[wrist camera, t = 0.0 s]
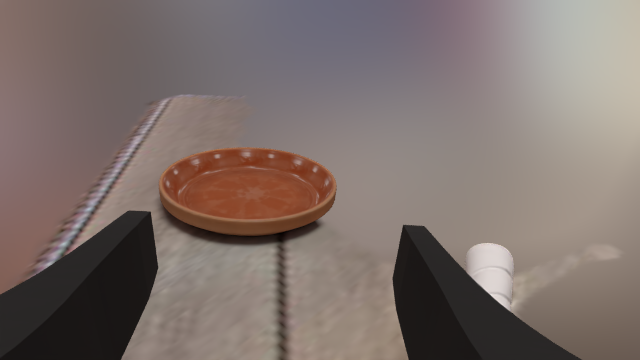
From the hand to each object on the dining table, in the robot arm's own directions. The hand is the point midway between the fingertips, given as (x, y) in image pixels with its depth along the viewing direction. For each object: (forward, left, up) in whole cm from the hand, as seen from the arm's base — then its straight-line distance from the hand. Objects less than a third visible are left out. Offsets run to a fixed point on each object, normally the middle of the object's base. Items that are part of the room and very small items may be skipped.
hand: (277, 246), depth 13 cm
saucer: (+44, +6, -22) cm, 50 cm away
